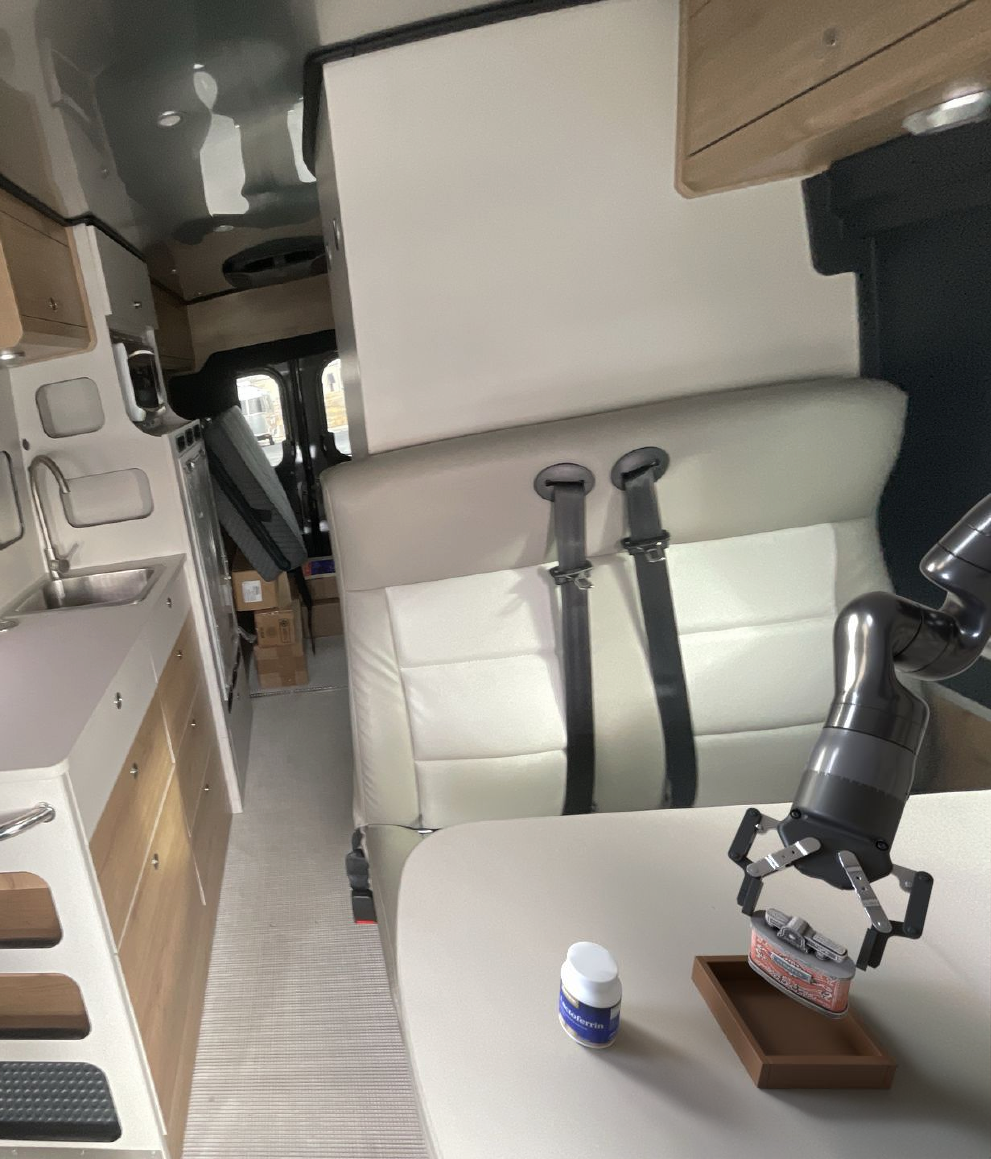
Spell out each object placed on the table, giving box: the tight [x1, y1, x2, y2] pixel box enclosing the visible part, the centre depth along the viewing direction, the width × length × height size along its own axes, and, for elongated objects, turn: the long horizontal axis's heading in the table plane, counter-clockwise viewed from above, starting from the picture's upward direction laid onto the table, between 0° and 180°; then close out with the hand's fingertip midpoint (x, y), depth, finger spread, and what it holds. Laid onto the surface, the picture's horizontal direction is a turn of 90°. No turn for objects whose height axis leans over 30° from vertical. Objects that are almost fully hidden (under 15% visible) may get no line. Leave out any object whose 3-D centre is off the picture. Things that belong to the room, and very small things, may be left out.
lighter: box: [747, 906, 857, 1019], centre depth 65 cm, size 8×3×10 cm, turn 30°
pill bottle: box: [558, 941, 623, 1050], centre depth 71 cm, size 6×6×10 cm
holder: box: [690, 954, 899, 1090], centre depth 69 cm, size 12×12×4 cm
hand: (800, 940), depth 64 cm, fingers closed on lighter, 8 cm apart
